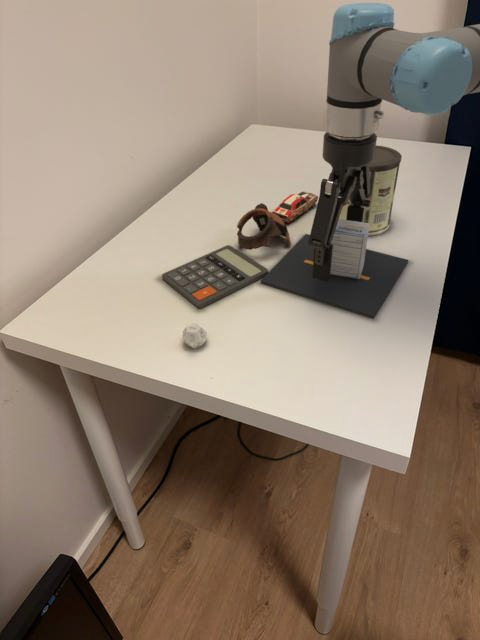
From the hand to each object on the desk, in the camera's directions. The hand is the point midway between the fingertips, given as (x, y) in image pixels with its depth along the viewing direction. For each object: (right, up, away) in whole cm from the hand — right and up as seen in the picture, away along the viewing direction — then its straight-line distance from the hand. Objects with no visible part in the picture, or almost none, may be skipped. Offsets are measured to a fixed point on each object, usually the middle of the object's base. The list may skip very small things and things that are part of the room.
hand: (337, 258), depth 83 cm
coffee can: (+8, +9, +15) cm, 19 cm away
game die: (-23, -14, -11) cm, 29 cm away
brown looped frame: (-12, +4, +11) cm, 17 cm away
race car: (-5, +12, +20) cm, 24 cm away
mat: (0, -2, +2) cm, 3 cm away
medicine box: (+1, -2, +1) cm, 2 cm away
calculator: (-21, -3, +2) cm, 21 cm away
